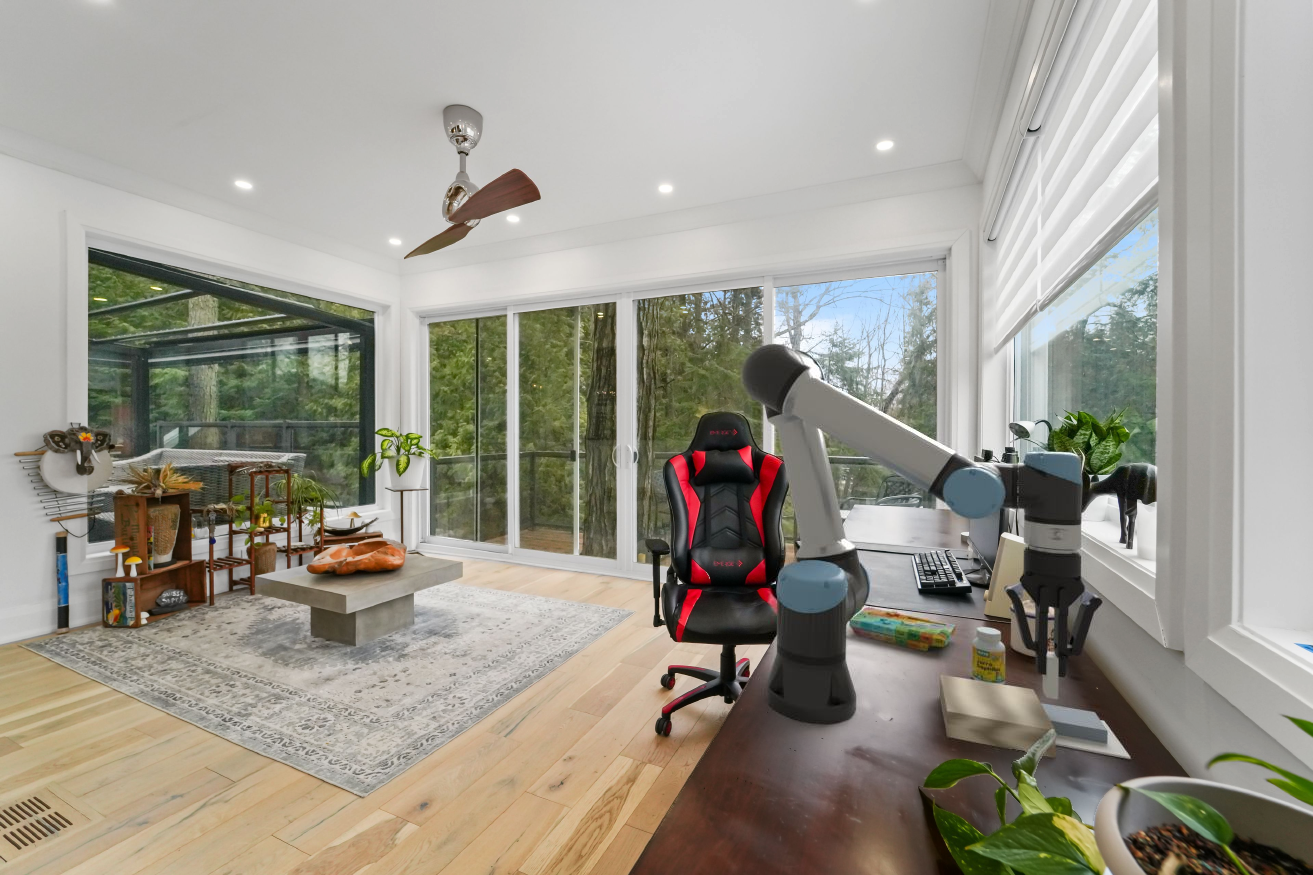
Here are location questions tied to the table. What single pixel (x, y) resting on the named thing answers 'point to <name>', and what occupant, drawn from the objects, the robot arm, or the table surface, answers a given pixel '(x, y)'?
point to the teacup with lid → (1030, 615)
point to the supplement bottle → (988, 656)
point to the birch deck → (993, 714)
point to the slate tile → (1076, 723)
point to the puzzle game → (901, 629)
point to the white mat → (1095, 744)
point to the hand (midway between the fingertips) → (1050, 694)
